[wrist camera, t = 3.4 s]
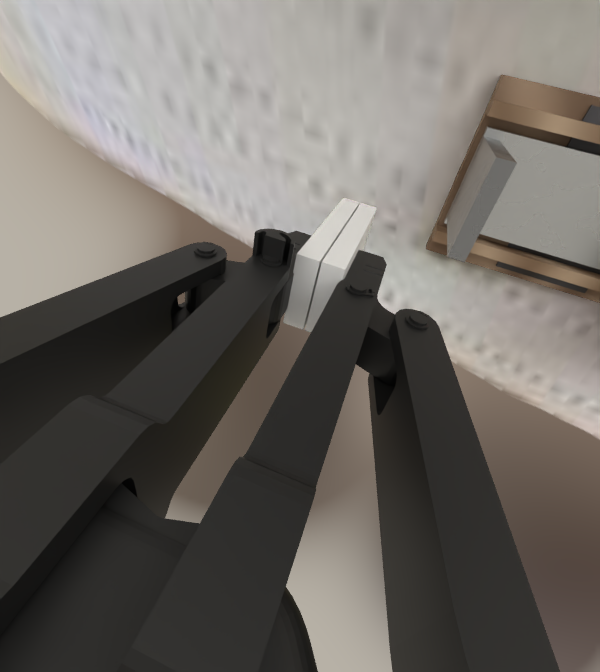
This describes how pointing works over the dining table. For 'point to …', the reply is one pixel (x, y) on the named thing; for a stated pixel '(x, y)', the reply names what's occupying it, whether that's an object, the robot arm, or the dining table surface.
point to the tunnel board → (547, 125)
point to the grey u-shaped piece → (528, 198)
